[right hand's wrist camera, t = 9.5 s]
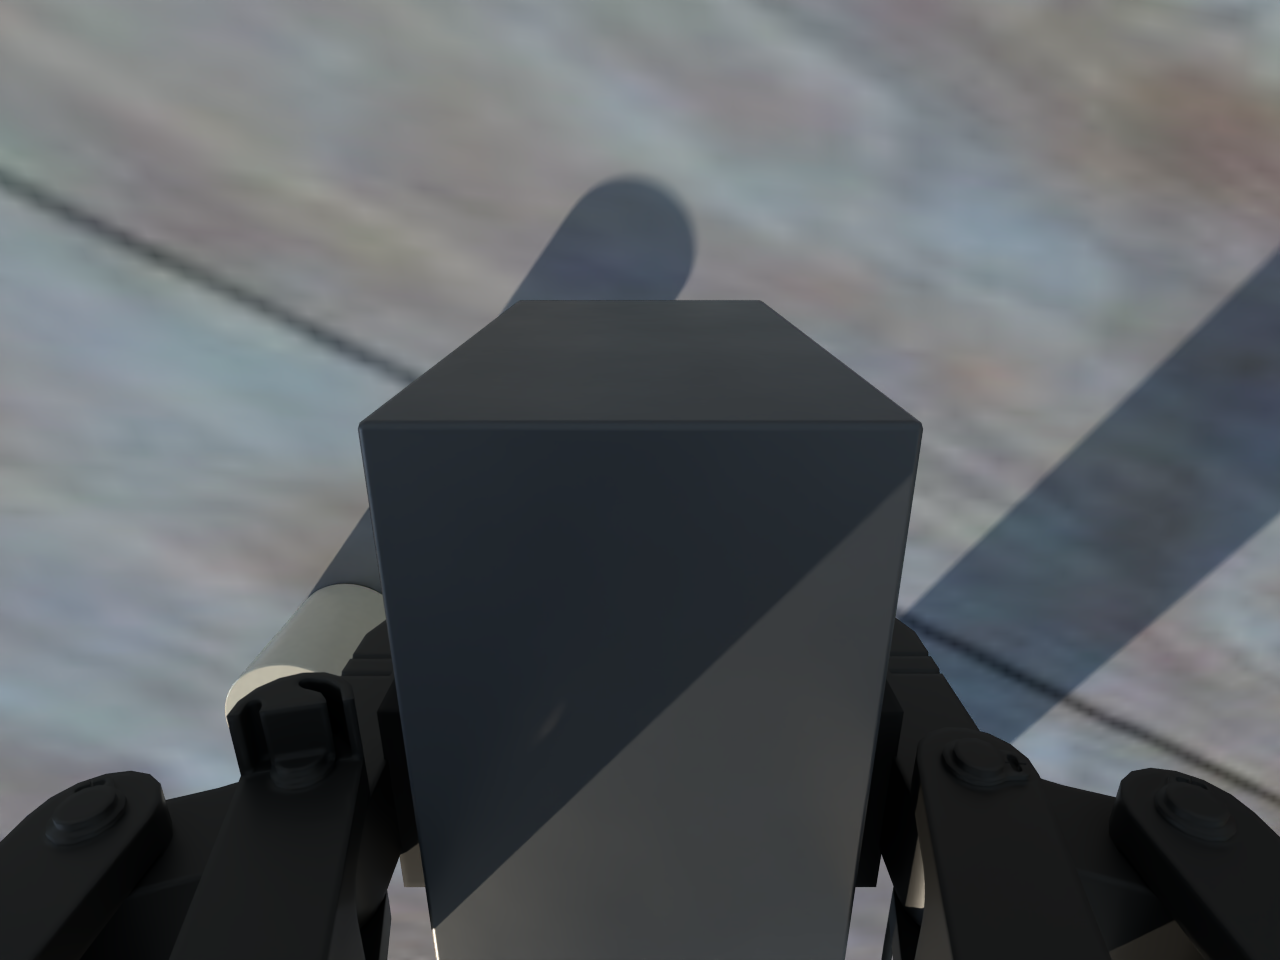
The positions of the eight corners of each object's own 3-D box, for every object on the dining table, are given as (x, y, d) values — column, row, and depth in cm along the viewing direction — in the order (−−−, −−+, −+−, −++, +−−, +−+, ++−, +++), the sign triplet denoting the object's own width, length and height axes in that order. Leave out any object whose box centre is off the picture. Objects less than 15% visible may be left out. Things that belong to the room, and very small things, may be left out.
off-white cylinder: (288, 582, 31) (211, 663, 26) (402, 582, 31) (349, 663, 26) (307, 678, 33) (238, 773, 27) (415, 678, 33) (368, 773, 27)
